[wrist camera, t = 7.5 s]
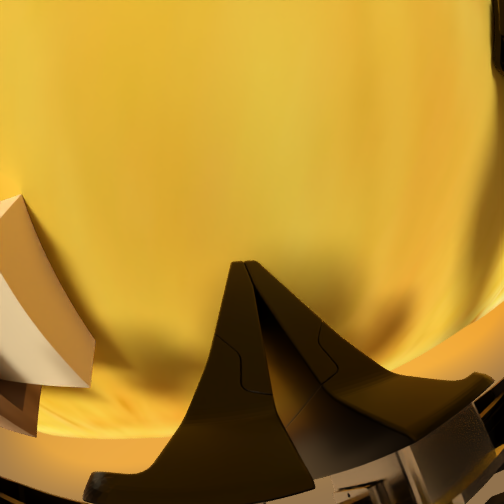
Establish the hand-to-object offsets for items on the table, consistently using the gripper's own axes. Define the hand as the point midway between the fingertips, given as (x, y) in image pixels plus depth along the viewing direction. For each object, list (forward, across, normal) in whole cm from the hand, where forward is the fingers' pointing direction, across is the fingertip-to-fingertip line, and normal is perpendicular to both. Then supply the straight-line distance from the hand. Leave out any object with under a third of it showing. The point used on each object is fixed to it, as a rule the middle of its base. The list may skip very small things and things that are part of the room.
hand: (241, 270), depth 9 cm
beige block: (+1, +12, +1) cm, 12 cm away
